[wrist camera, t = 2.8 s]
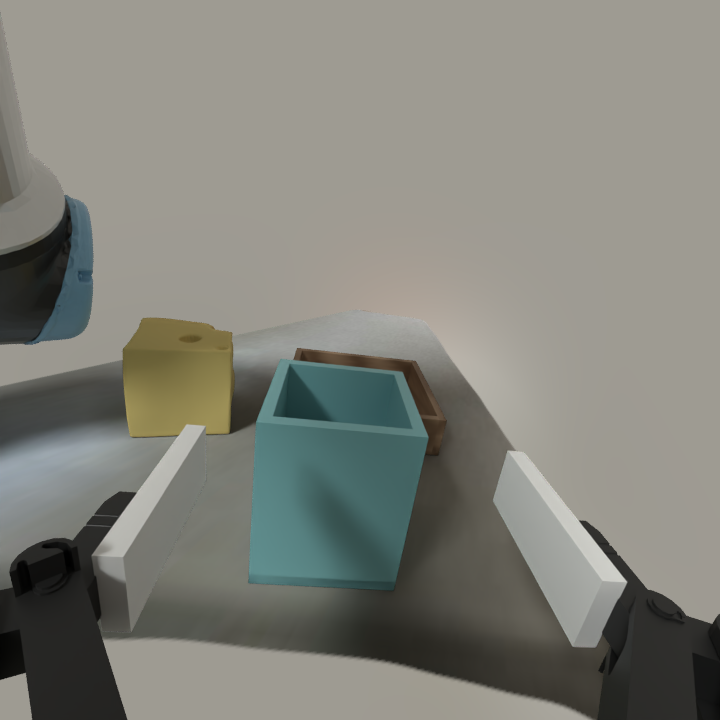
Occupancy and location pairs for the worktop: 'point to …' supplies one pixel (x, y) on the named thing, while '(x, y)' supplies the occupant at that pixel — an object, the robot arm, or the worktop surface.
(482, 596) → the worktop surface
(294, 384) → the teal crate
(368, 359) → the walnut crate
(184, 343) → the cheese
